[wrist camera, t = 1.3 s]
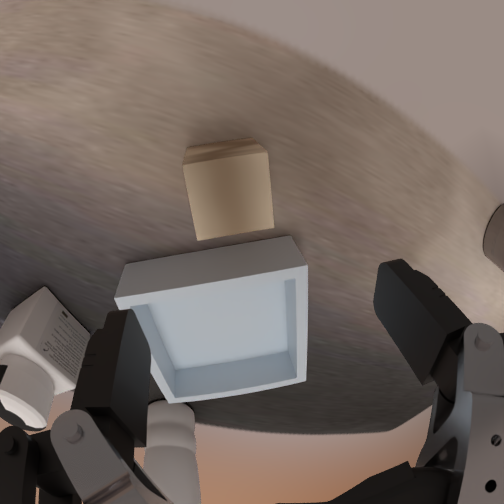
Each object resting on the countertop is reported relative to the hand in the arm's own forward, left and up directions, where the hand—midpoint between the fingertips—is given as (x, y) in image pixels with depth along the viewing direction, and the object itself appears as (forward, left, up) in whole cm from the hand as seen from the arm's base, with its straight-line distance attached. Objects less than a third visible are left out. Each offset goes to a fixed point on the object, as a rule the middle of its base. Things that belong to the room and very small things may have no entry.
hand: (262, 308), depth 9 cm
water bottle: (+13, +31, -17) cm, 37 cm away
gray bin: (+2, +14, -16) cm, 22 cm away
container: (+22, +12, -17) cm, 30 cm away
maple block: (0, 0, -16) cm, 16 cm away
